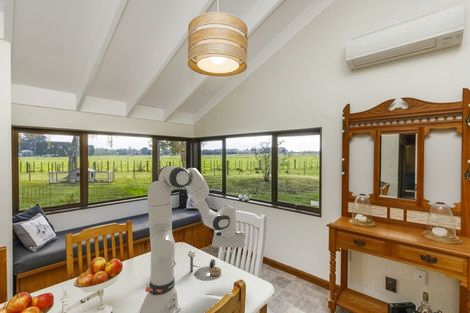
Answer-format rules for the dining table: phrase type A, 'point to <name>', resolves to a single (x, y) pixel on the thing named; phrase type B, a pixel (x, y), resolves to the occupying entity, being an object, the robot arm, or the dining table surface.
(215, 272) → the cover
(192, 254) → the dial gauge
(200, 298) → the dining table surface
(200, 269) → the turntable
